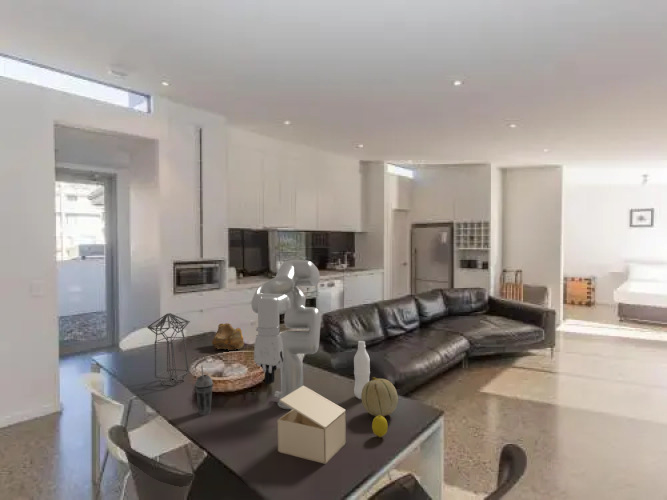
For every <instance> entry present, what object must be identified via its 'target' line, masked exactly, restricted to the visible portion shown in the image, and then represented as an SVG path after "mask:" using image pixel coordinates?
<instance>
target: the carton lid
mask: <svg viewBox="0 0 667 500" xmlns="http://www.w3.org/2000/svg"><path fill="white" fill-rule="evenodd" d="M280 402H282V403H284V404H285V405H287V406H289V407H290V408H292V409H291V410H295V411H297V412H298V413H300V414H302V415H303V416H305V417H306V418H308V419H310V420H311V421H313V422H315V423H316V424H318V425H320V426H321V427H323V428H324V429H325V428H326V427H328V426H329V425H330V424H331V423H332V422H334V421H335V420H336V419H337V418H338V417H339V416H341V415H342V414H343V413H344V412H345V413H346V409H345V408H343V407H342V406H339V405H338V404H337V403H334V402H333V401H331V400H330V399H327V398H326V397H325V396H322V395H321V394H319V393H317V392H315V391H314V390H313V389H311V388H309V387H307V386H305V385H304V384H303V386H302V387H300V388H298V389H297V390H295V391H293V392H292V393H290V394H289V395H287V396H285V397H284V398H282V399H280Z"/></svg>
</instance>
